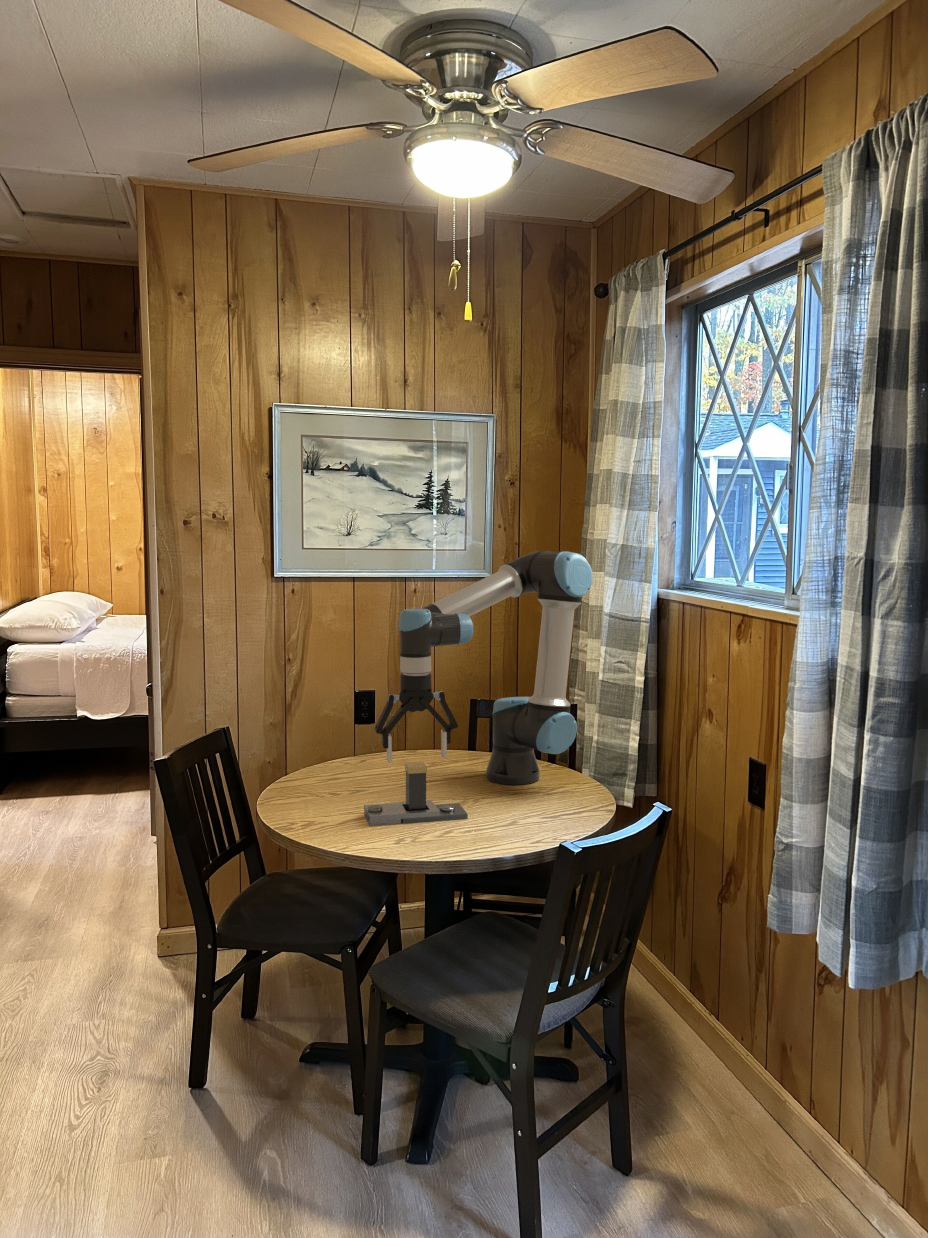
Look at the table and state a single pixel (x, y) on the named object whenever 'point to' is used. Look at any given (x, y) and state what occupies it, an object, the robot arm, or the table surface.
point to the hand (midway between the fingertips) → (417, 759)
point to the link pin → (415, 786)
